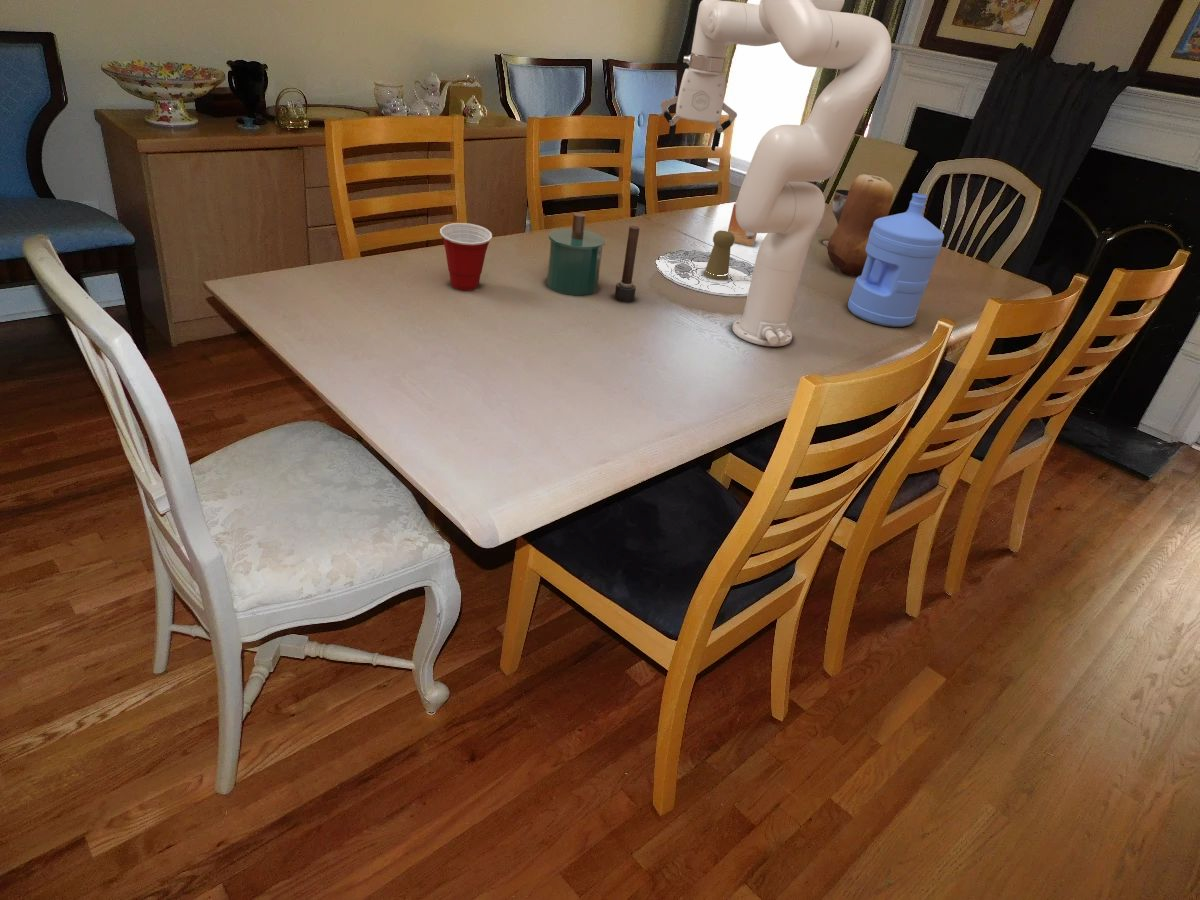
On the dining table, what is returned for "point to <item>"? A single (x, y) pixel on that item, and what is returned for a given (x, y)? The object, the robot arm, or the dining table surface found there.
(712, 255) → the olive pawn
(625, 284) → the peg on round base
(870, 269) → the water jug
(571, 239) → the jar lid
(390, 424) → the dining table surface
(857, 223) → the butternut squash
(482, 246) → the plastic cup
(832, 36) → the robot arm
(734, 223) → the small box
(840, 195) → the wine glass
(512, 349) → the dining table surface
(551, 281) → the jar
